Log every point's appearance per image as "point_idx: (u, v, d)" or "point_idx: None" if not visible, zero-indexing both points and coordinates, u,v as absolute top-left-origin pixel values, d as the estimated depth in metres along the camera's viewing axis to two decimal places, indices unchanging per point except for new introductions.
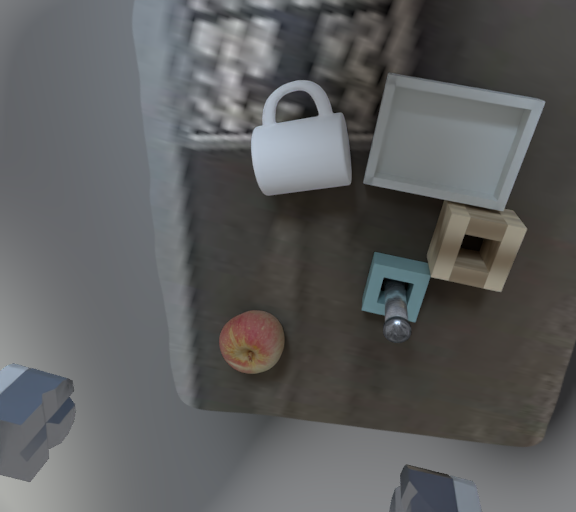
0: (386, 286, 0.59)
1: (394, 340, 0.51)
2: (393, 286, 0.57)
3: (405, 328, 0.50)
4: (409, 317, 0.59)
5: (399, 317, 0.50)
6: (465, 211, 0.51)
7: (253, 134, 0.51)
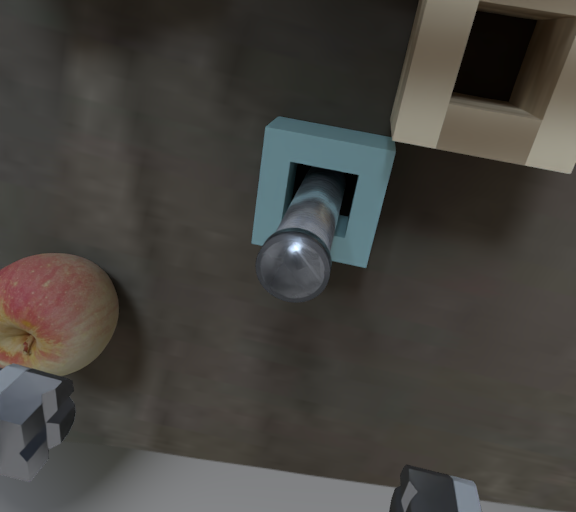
0: None
1: (288, 295, 0.19)
2: (311, 181, 0.25)
3: (312, 260, 0.18)
4: (352, 257, 0.27)
5: (297, 230, 0.18)
6: None
7: None
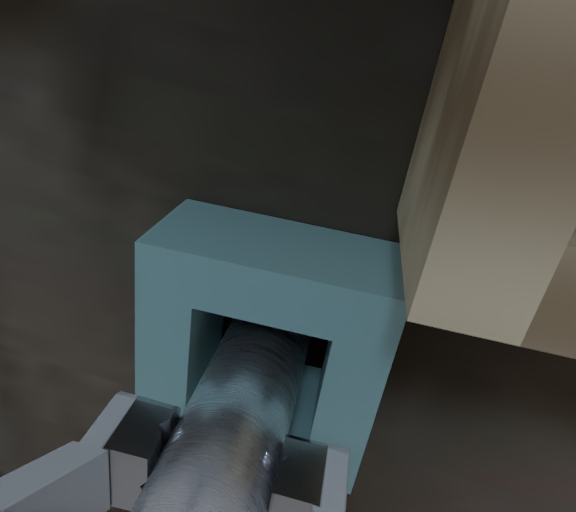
0: None
1: None
2: (233, 354, 0.12)
3: None
4: None
5: None
6: None
7: None
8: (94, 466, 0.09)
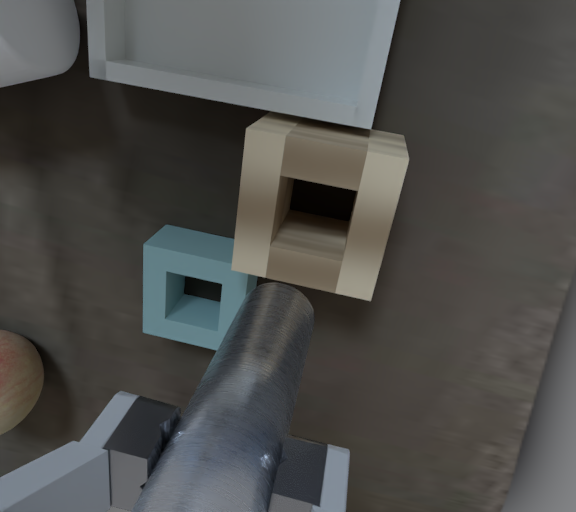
0: (218, 348, 0.13)
1: None
2: (233, 355, 0.12)
3: None
4: None
5: None
6: (287, 128, 0.24)
7: None
8: (94, 466, 0.09)
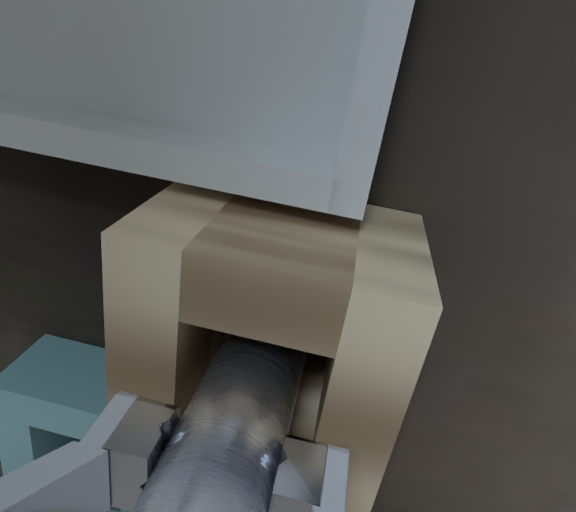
0: (218, 348, 0.13)
1: None
2: (233, 355, 0.12)
3: None
4: None
5: None
6: (198, 221, 0.12)
7: None
8: (94, 466, 0.09)
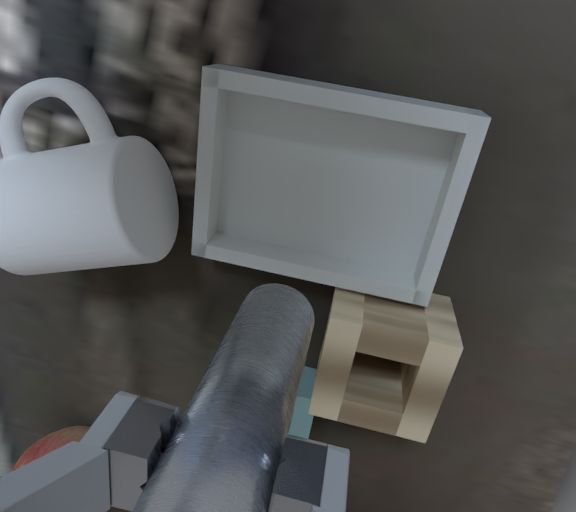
0: (218, 349, 0.13)
1: None
2: (233, 356, 0.12)
3: None
4: None
5: None
6: (359, 309, 0.29)
7: None
8: (94, 466, 0.09)
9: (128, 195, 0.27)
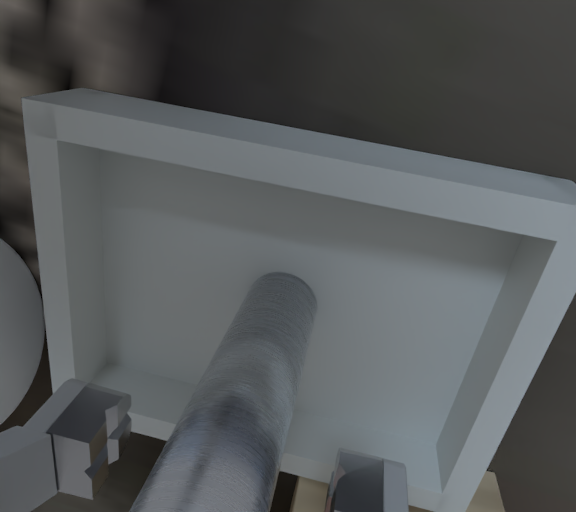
0: None
1: None
2: (242, 336, 0.13)
3: None
4: None
5: None
6: None
7: None
8: (36, 450, 0.09)
9: None
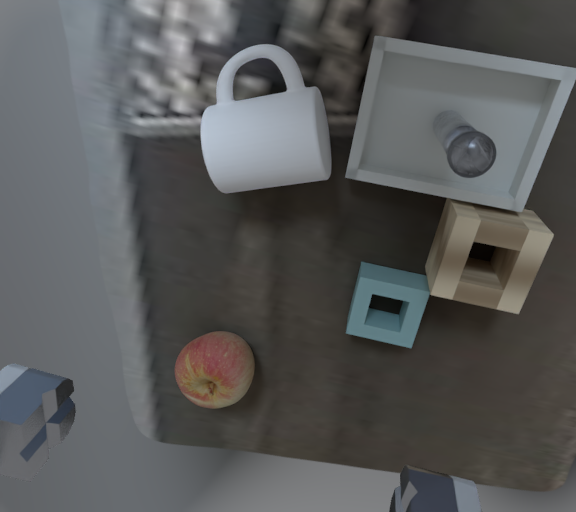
0: (439, 123, 0.38)
1: (466, 173, 0.31)
2: (452, 117, 0.37)
3: (486, 148, 0.30)
4: (404, 342, 0.48)
5: (476, 131, 0.30)
6: (474, 212, 0.40)
7: (204, 115, 0.40)
8: None
9: (319, 126, 0.38)
